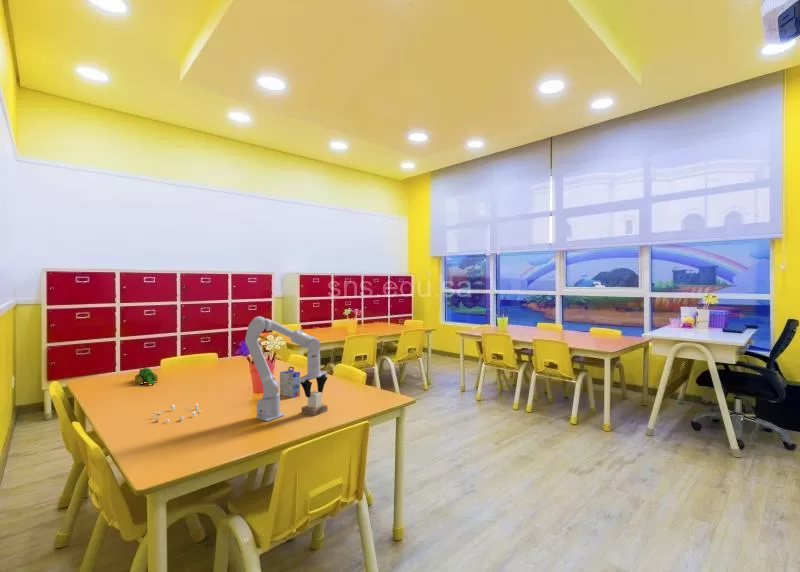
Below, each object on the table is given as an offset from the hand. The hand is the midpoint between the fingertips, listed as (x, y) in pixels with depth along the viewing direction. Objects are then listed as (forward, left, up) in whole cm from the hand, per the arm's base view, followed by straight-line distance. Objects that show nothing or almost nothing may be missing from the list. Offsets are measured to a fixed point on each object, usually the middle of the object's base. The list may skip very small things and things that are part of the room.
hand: (314, 394), depth 177 cm
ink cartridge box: (+12, +30, -8) cm, 33 cm away
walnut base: (0, 0, -8) cm, 8 cm away
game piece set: (-35, +50, -8) cm, 62 cm away
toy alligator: (-13, +131, -8) cm, 132 cm away
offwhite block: (0, 0, -5) cm, 5 cm away
